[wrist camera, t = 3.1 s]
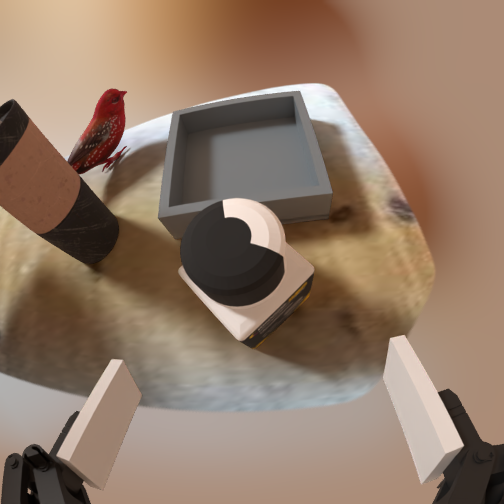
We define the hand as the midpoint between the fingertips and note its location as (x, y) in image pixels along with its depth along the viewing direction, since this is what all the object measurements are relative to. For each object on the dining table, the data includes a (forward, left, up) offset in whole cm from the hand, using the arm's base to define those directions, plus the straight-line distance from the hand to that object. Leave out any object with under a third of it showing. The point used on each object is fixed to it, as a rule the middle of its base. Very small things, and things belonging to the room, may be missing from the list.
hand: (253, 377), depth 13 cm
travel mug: (-20, +16, -12) cm, 28 cm away
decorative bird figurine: (-21, +27, -12) cm, 36 cm away
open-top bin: (-1, +22, -12) cm, 25 cm away
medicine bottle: (-1, +7, -12) cm, 14 cm away
